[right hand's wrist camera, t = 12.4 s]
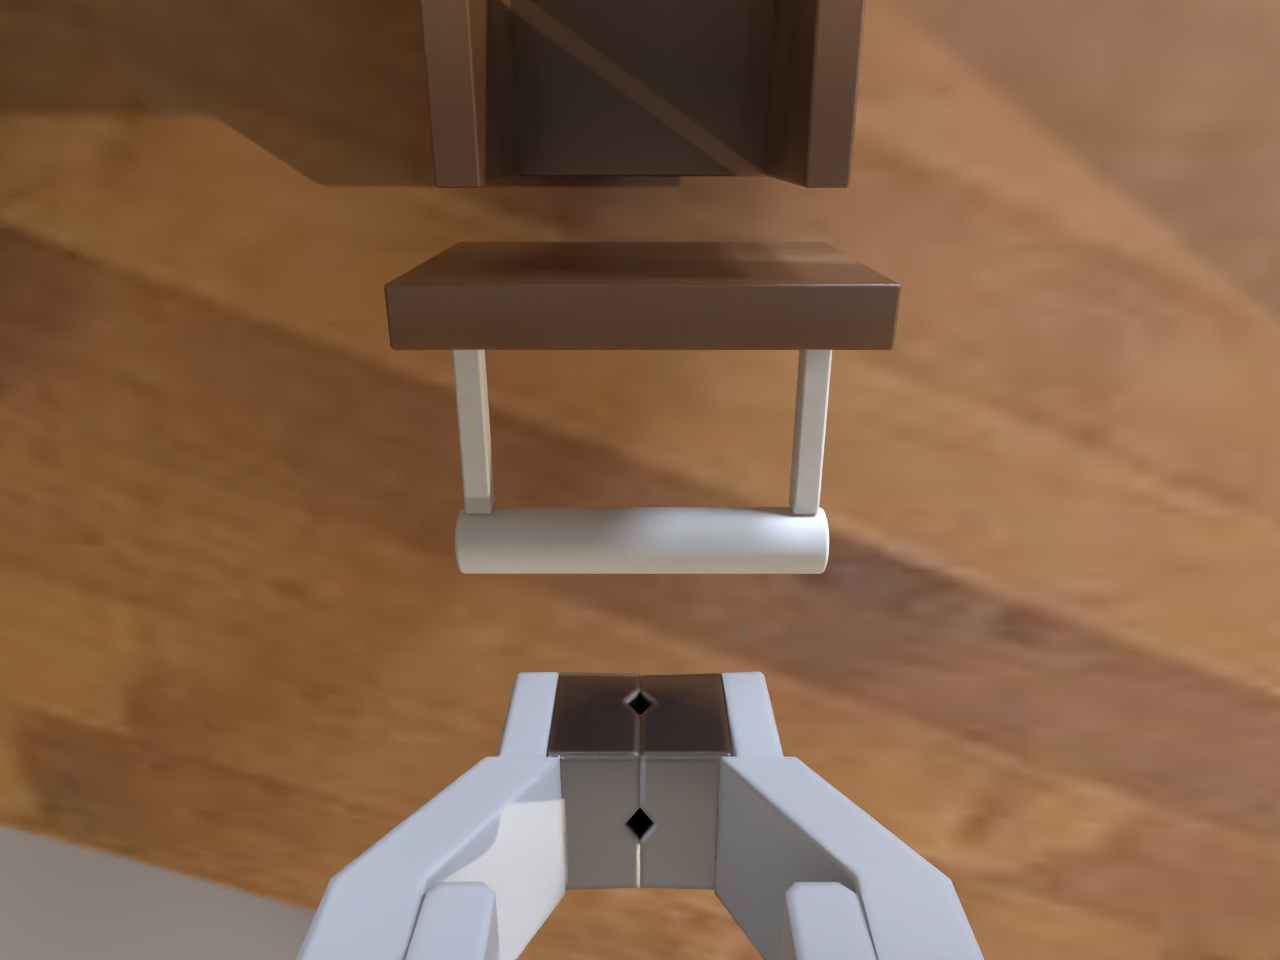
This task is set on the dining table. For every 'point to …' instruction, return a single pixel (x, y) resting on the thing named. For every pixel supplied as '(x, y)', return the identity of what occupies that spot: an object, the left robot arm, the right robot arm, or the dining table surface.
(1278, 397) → the dining table surface
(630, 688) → the right robot arm
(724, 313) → the drawer
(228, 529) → the dining table surface
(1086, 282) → the dining table surface
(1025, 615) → the dining table surface
